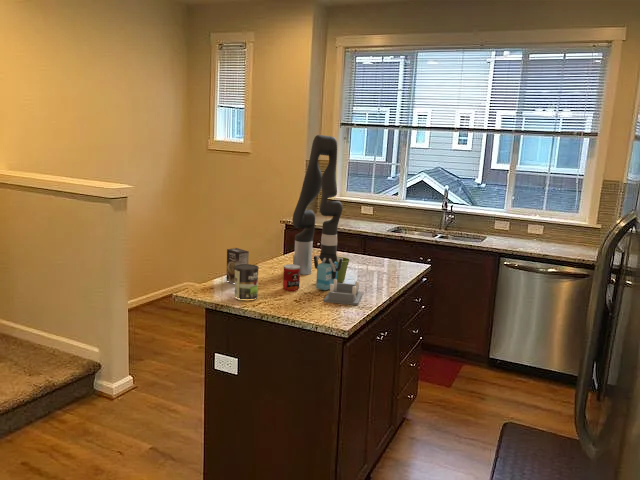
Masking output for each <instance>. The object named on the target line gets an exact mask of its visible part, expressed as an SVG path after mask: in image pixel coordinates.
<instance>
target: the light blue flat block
mask: <svg viewBox="0 0 640 480" xmlns="http://www.w3.org/2000/svg"><path fill="white" fill-rule="evenodd" d="M333 264H334V263H333ZM335 266H336V268H338V263H337V262H335ZM337 273H338V271H336V278H335V279H337ZM332 278H333V268H332V266H331V264H328V263H322V262H321V263H318V266H317V269H316V283H315V287H316V289H318V290H321V291H327V290H330V284H333V283H334V279H332Z"/></svg>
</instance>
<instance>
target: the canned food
mask: <svg viewBox="0 0 640 480" xmlns="http://www.w3.org/2000/svg"><path fill="white" fill-rule="evenodd" d="M282 275H283V277H282V278H283V281H282V289H283V290H284V289H285V290H284V291H287V290H288V292H296V291H295V290H297V291H298V289H299V290H300V279H301V278H300V277H301V274H300V266H299V265H294V264H293V263H291V264H290V263H289V264H284V266H283V274H282Z"/></svg>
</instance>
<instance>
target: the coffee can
mask: <svg viewBox="0 0 640 480" xmlns="http://www.w3.org/2000/svg"><path fill="white" fill-rule="evenodd" d="M259 269H260V268H259V265H256V264H253V263H252V264H249V263H248V264H240V265H236V266H235V285H234V296H235V297H237V298H240V299H255V298H257V297H258V290H259V287H258V286H259ZM257 299H258V298H257Z"/></svg>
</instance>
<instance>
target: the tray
mask: <svg viewBox="0 0 640 480" xmlns="http://www.w3.org/2000/svg"><path fill="white" fill-rule="evenodd" d="M354 283H355V284H354ZM354 283H353V284H352V283H342V282H337V279H334V283H333V284H330V289H329V291H328V293H327V294H326V296H325V297H324V299H323V302H324V303H331V304H338V303H339V304H340V305H341V304H342V305H348V304H350V305H349V306H357V305H359V303H360V302H361V300H362V297H363V295H364V292H362V291H360V290H359V289H360V288H359V287H360V285H359V284H360V281H358V280H355V281H354Z"/></svg>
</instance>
